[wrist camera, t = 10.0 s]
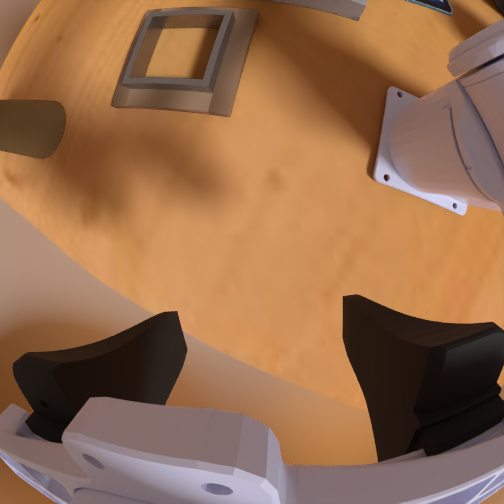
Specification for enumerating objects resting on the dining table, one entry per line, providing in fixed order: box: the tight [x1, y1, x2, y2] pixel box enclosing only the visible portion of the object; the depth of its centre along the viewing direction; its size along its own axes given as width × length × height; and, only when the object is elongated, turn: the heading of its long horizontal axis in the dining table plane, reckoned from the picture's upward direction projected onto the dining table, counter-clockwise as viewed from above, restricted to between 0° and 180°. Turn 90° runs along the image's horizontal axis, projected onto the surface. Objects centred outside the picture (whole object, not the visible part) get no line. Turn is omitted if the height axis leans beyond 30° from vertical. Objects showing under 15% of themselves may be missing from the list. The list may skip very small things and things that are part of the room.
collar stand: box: [111, 7, 259, 117], centre depth 16 cm, size 10×10×2 cm
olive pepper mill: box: [0, 100, 66, 159], centre depth 14 cm, size 6×6×11 cm
